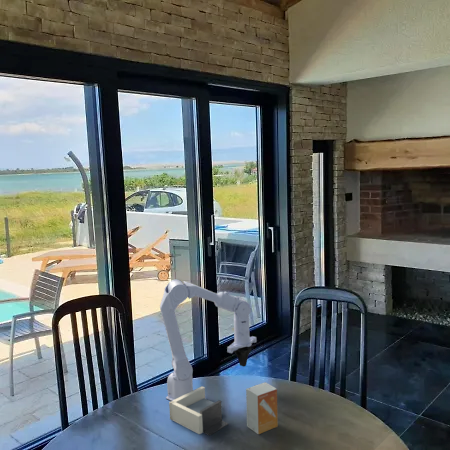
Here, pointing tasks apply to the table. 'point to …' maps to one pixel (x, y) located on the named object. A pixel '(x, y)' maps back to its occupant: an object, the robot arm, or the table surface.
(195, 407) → the book
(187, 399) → the cream corner tray
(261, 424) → the small box
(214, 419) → the bookend
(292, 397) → the table surface
